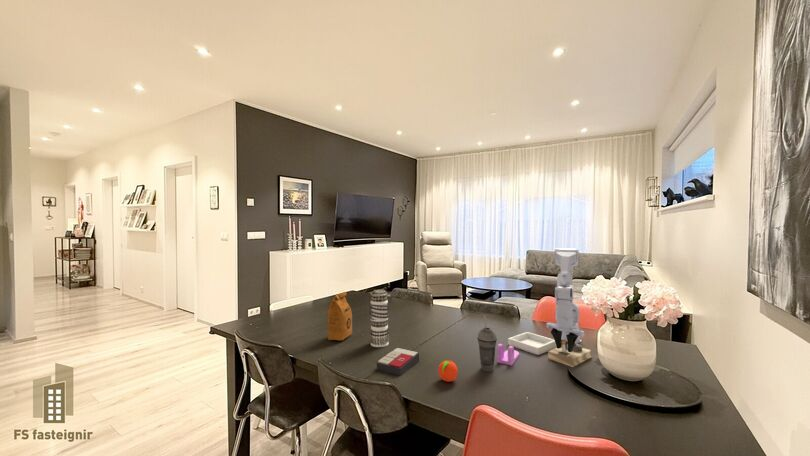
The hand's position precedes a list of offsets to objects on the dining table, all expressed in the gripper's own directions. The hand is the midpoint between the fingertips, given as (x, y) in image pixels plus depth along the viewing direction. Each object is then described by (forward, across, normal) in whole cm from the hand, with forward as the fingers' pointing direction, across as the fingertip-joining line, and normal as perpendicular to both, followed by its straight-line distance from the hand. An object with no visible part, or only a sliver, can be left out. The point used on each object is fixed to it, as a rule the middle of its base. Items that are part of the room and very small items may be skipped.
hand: (564, 349), depth 130 cm
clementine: (+5, -16, -50) cm, 52 cm away
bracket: (+5, -15, -16) cm, 22 cm away
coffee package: (+5, -81, -60) cm, 101 cm away
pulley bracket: (+4, 0, +4) cm, 6 cm away
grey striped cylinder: (+5, -62, -50) cm, 79 cm away
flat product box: (+5, -38, -56) cm, 67 cm away
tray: (+4, -17, +4) cm, 18 cm away
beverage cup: (+5, -14, -30) cm, 34 cm away
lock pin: (+4, 0, 0) cm, 4 cm away
